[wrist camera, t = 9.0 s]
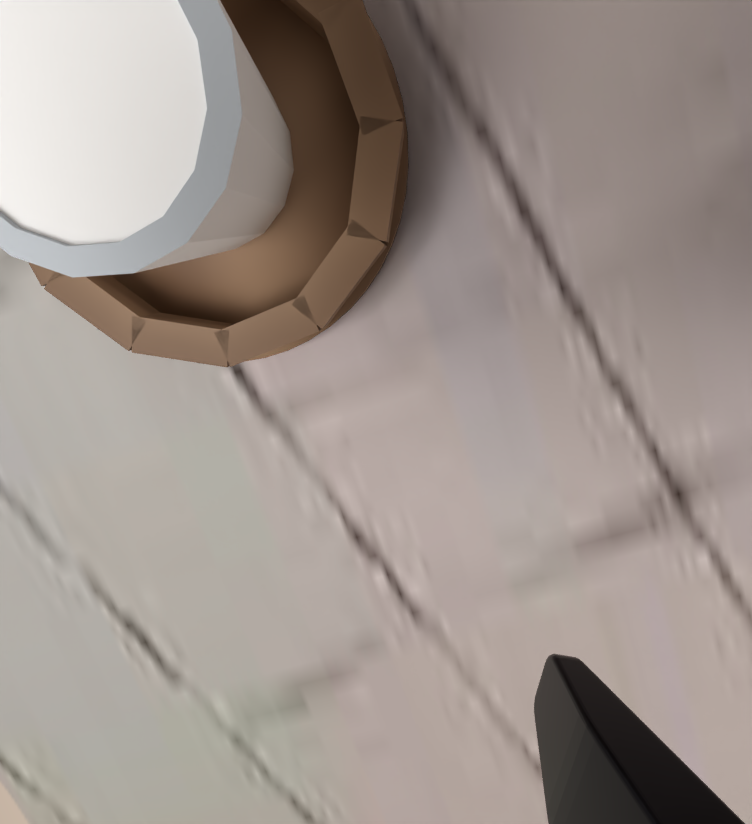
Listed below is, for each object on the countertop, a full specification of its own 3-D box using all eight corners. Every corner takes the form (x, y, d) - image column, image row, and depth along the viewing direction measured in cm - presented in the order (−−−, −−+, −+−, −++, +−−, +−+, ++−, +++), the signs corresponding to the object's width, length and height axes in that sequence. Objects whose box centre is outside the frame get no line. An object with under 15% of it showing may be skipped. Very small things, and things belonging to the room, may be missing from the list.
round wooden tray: (441, -45, 15) (446, -94, 13) (377, 383, 19) (373, 399, 17) (10, -102, 15) (-54, -160, 13) (34, 329, 19) (-12, 338, 17)
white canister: (104, 256, 17) (-92, 255, 11) (98, 18, 15) (-149, -167, 9) (303, 284, 17) (231, 300, 10) (323, 46, 15) (250, -122, 8)
